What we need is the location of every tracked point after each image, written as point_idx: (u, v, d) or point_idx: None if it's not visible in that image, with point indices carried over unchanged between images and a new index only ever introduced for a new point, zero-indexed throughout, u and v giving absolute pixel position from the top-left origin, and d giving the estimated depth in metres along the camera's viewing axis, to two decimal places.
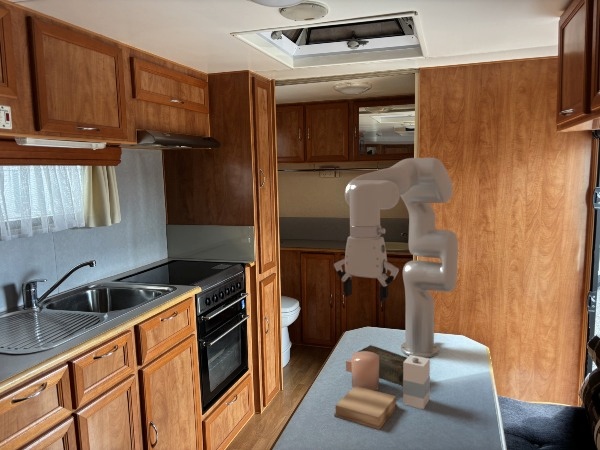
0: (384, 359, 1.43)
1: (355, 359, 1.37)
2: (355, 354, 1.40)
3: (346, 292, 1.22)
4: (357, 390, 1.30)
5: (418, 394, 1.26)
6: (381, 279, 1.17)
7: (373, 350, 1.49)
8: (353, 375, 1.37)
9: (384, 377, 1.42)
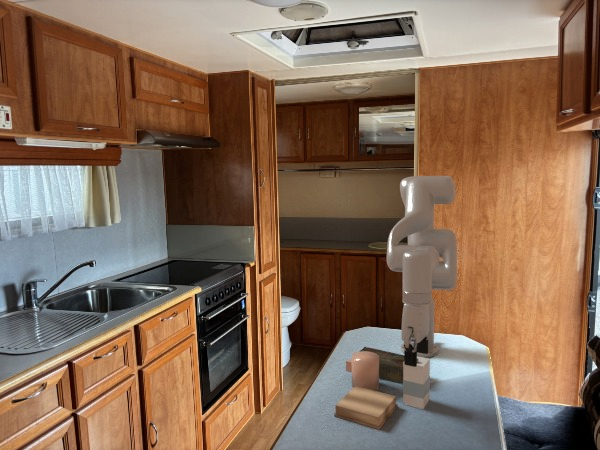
0: (385, 360, 1.43)
1: (355, 359, 1.37)
2: (355, 354, 1.40)
3: (416, 361, 1.22)
4: (357, 390, 1.30)
5: (418, 394, 1.26)
6: (427, 333, 1.30)
7: (371, 351, 1.48)
8: (353, 375, 1.37)
9: (387, 378, 1.42)
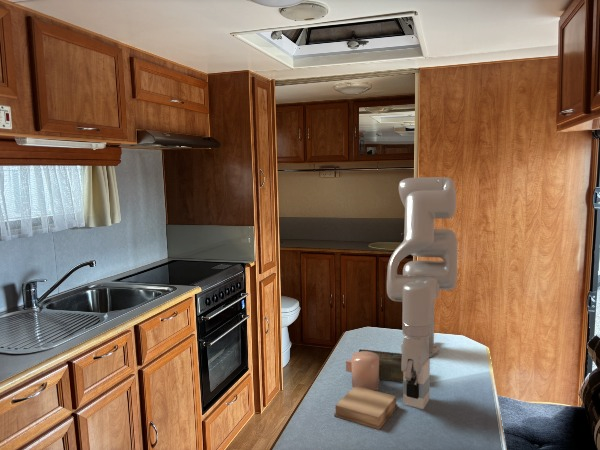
0: (387, 360, 1.43)
1: (355, 359, 1.37)
2: (355, 354, 1.40)
3: (418, 393, 1.26)
4: (357, 390, 1.30)
5: None
6: None
7: None
8: (353, 375, 1.37)
9: (391, 378, 1.42)
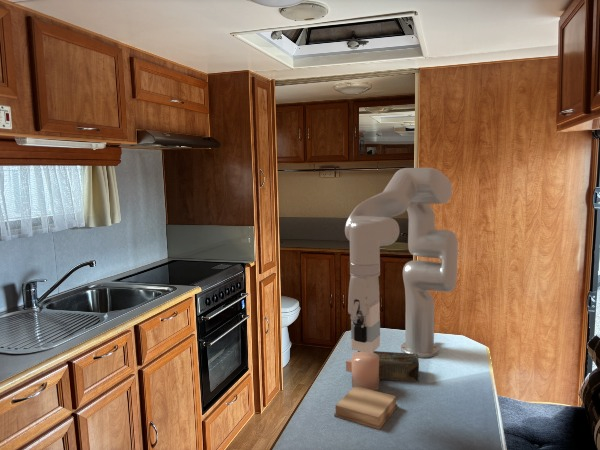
0: (388, 360, 1.43)
1: (355, 359, 1.37)
2: (355, 354, 1.40)
3: (366, 337, 1.19)
4: (357, 390, 1.30)
5: None
6: None
7: None
8: (353, 375, 1.37)
9: (392, 378, 1.42)
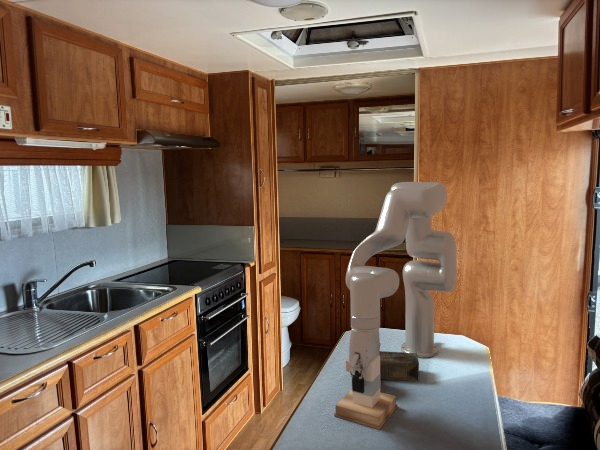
0: (388, 359, 1.43)
1: None
2: None
3: None
4: None
5: (367, 392, 1.21)
6: None
7: None
8: None
9: (392, 377, 1.42)
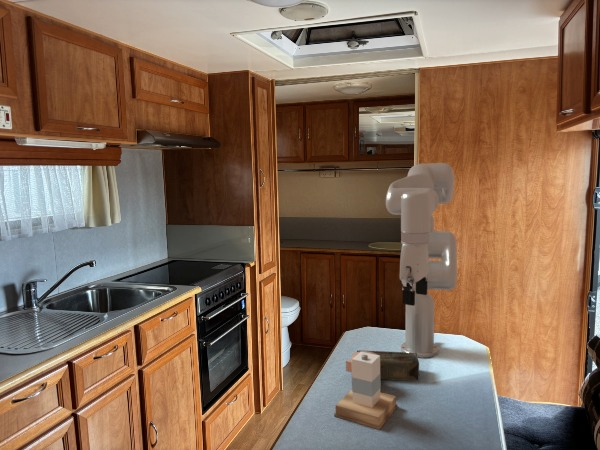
0: (388, 359, 1.43)
1: None
2: (355, 354, 1.40)
3: (414, 300, 1.24)
4: None
5: (367, 392, 1.21)
6: (426, 275, 1.31)
7: None
8: None
9: (393, 377, 1.42)
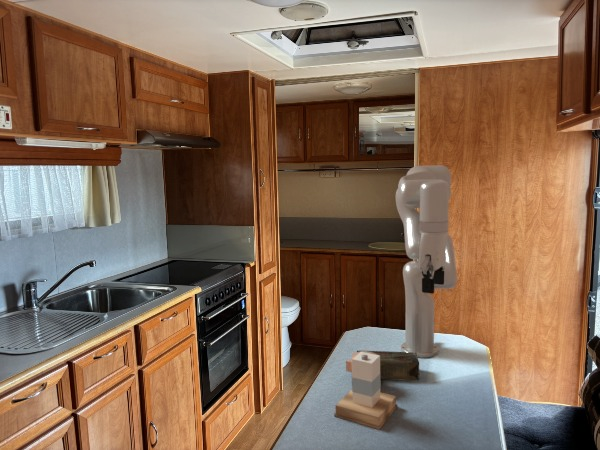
0: (389, 359, 1.43)
1: None
2: (355, 354, 1.40)
3: None
4: None
5: (367, 392, 1.21)
6: (443, 265, 1.33)
7: None
8: None
9: (393, 377, 1.43)
